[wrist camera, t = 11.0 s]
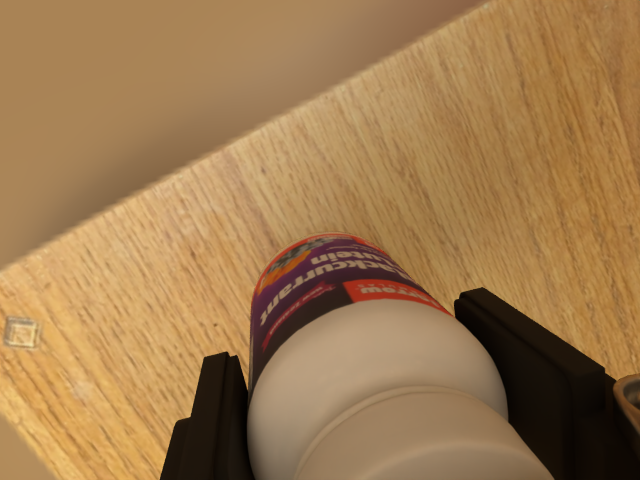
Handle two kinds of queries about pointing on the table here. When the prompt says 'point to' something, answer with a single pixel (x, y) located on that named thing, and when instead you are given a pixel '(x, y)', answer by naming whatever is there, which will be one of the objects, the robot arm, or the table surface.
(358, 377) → the pill bottle
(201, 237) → the table surface
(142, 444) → the table surface
